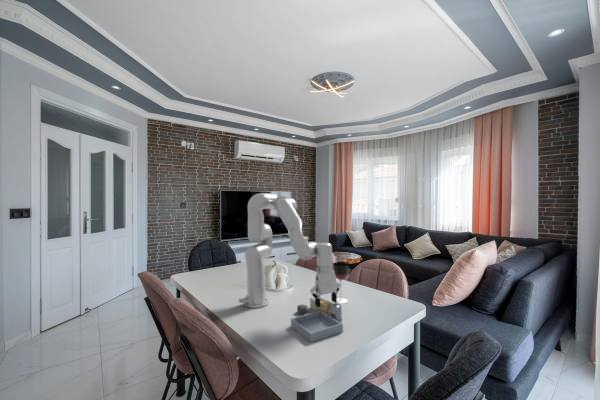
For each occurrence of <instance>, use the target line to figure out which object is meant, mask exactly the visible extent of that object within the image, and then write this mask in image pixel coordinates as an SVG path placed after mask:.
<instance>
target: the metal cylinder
mask: <svg viewBox="0 0 600 400" xmlns="http://www.w3.org/2000/svg"><path fill="white" fill-rule="evenodd" d="M330 307H331V316H330V317H332V318H334V319H335V320H337V321H339V322H340V323H342V322H343V319H342V313H343V312H342V310H343V309H342V307H343V306H342V304H341V303H333V304H331V305H330Z"/></svg>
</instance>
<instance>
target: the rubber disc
mask: <svg viewBox="0 0 600 400" xmlns="http://www.w3.org/2000/svg"><path fill="white" fill-rule="evenodd" d="M296 308H297V314H298V315H301V314H302V315H301V316H303V315H307V314H309V313H308V305H307V304H298V305H297V307H296Z"/></svg>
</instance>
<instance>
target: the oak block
mask: <svg viewBox="0 0 600 400" xmlns="http://www.w3.org/2000/svg"><path fill="white" fill-rule="evenodd" d="M331 304H334V302H332V301H329V300H327V299H324V300H320V307H318V310H317V312H318V311H322V312H324V313H325V314H327V315H329V316H330V317H331V307H330V305H331Z"/></svg>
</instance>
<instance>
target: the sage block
mask: <svg viewBox="0 0 600 400" xmlns="http://www.w3.org/2000/svg"><path fill="white" fill-rule="evenodd" d="M319 299H320V300H325V299H324V298H322V297H321V296H320V297H319ZM309 305H310V306H309V308H310V309H312V310H313V311H315V312H318V307H317V306H316V305H315V298H314V296H312V297H309Z"/></svg>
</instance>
